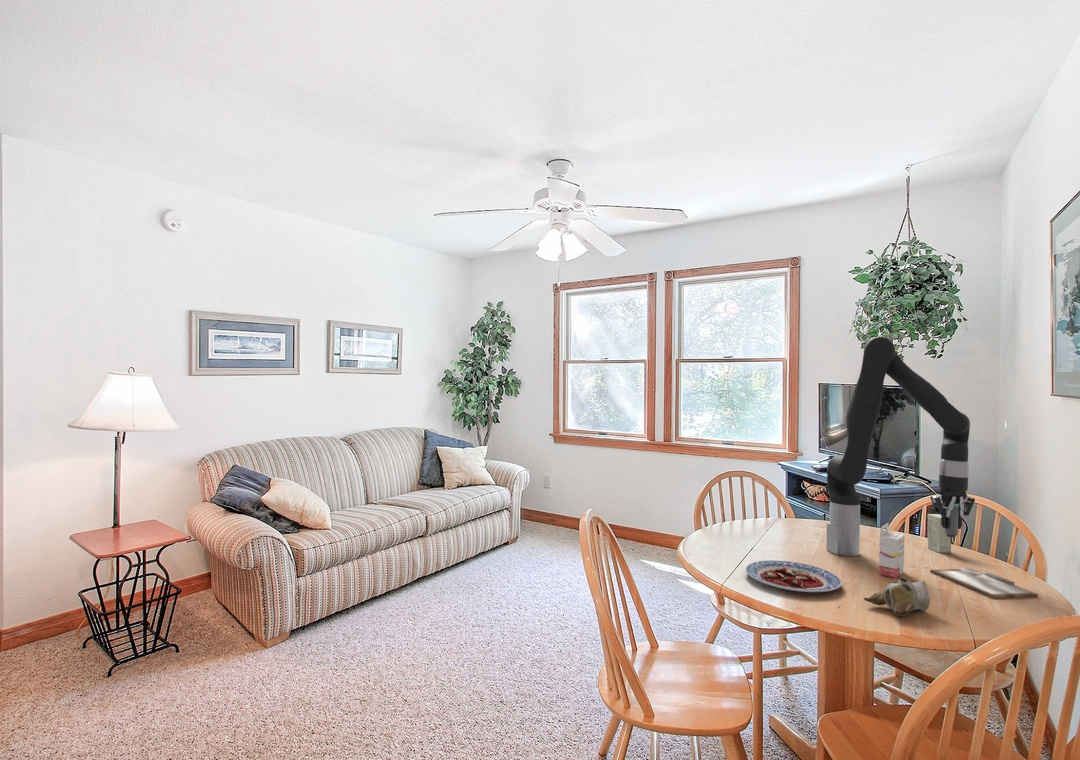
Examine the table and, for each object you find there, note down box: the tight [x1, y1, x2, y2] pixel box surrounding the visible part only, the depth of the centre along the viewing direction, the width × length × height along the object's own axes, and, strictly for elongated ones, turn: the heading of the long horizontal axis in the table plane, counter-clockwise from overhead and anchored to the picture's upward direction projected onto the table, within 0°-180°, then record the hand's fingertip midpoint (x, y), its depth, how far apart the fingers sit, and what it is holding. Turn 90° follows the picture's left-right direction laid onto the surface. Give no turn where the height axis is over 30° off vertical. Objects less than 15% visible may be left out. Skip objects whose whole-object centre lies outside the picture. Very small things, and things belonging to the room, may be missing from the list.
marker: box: [945, 504, 959, 539], centre depth 179 cm, size 4×4×11 cm
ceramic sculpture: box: [863, 577, 931, 617], centre depth 144 cm, size 11×9×15 cm
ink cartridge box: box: [878, 522, 906, 579], centre depth 173 cm, size 9×5×15 cm, turn 134°
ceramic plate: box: [745, 559, 843, 593], centre depth 165 cm, size 26×26×3 cm
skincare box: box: [927, 513, 952, 554], centre depth 198 cm, size 6×4×12 cm
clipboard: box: [929, 568, 1039, 599], centre depth 165 cm, size 14×21×2 cm, turn 7°
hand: (951, 528), depth 179 cm, fingers closed on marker, 3 cm apart
